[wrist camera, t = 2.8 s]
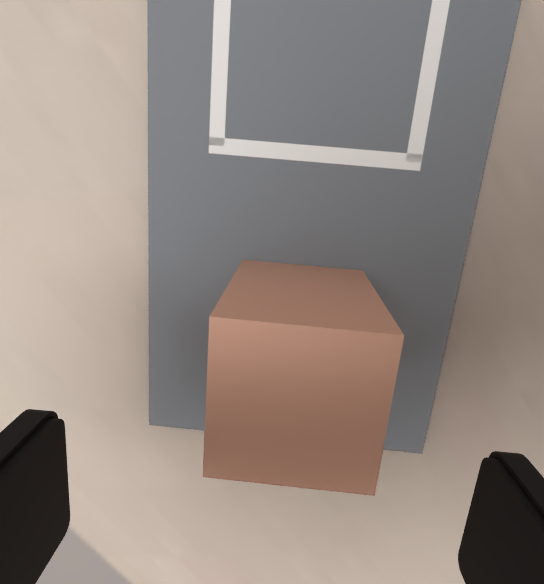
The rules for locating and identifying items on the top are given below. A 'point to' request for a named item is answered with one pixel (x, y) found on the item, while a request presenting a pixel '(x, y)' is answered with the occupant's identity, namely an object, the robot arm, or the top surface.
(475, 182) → the mat
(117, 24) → the top surface
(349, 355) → the block
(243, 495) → the top surface
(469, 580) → the robot arm
